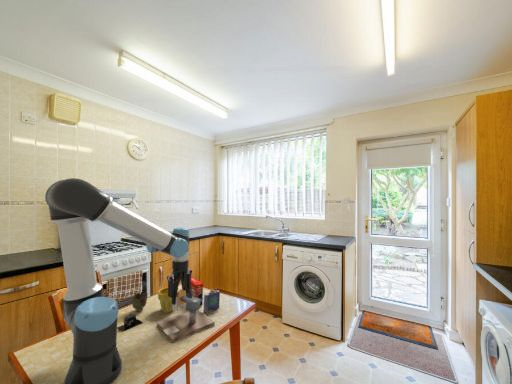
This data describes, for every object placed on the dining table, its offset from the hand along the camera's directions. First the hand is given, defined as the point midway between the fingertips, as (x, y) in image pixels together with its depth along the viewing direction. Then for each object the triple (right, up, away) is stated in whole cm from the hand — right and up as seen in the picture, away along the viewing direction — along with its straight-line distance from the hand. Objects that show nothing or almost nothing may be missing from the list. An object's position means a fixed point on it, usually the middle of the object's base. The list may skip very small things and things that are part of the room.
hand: (179, 308), depth 111 cm
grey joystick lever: (+5, +2, -3) cm, 6 cm away
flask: (+14, -6, +10) cm, 18 cm away
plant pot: (-9, -6, +10) cm, 14 cm away
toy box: (+1, -6, +21) cm, 22 cm away
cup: (-23, -5, +7) cm, 25 cm away
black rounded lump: (-20, -5, -6) cm, 22 cm away
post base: (+5, -5, -5) cm, 9 cm away
